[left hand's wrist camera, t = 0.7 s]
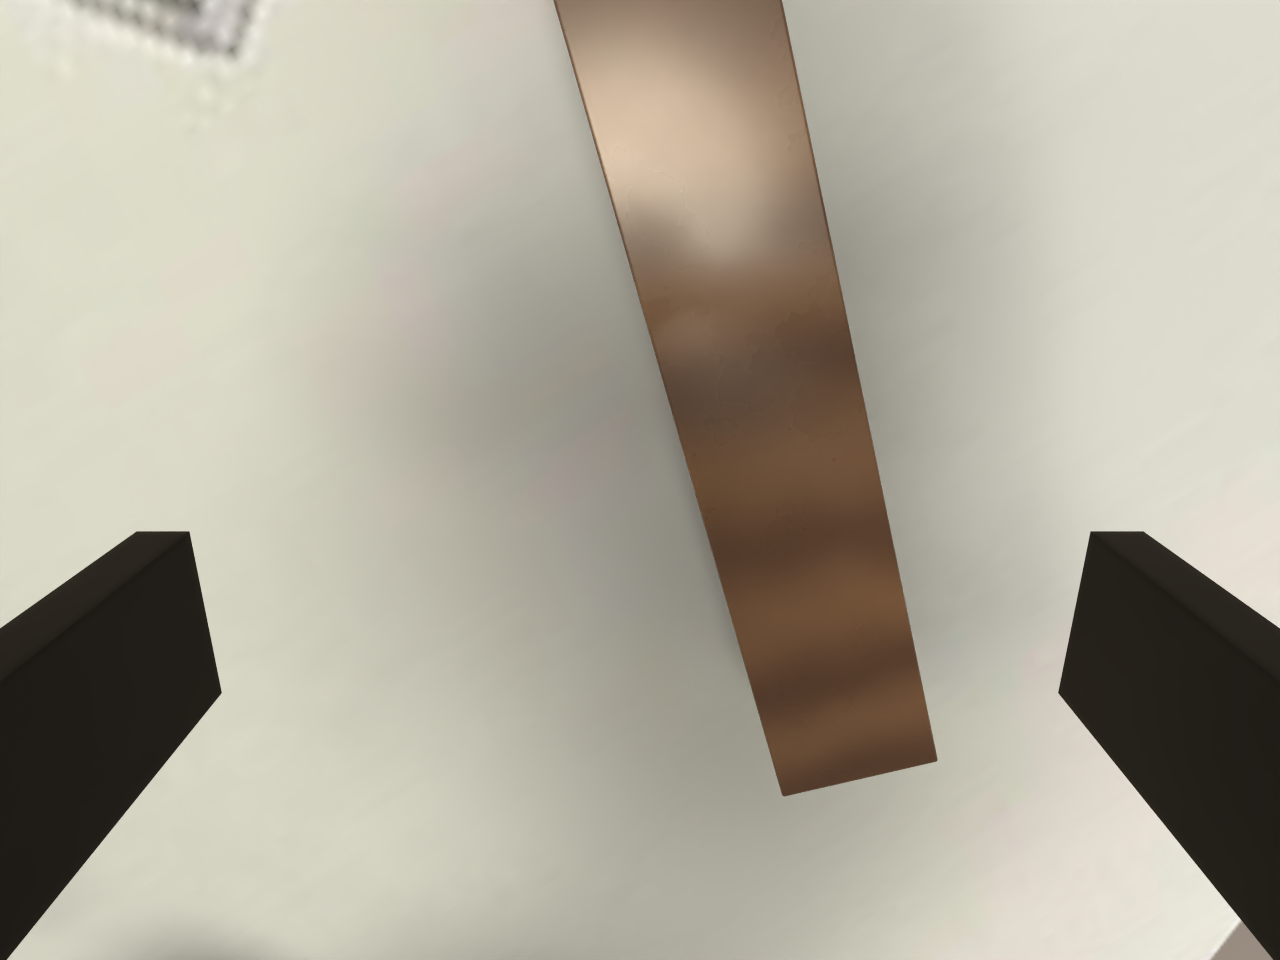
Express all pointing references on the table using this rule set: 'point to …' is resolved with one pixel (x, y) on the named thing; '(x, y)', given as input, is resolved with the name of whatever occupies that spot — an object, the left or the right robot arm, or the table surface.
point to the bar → (757, 368)
